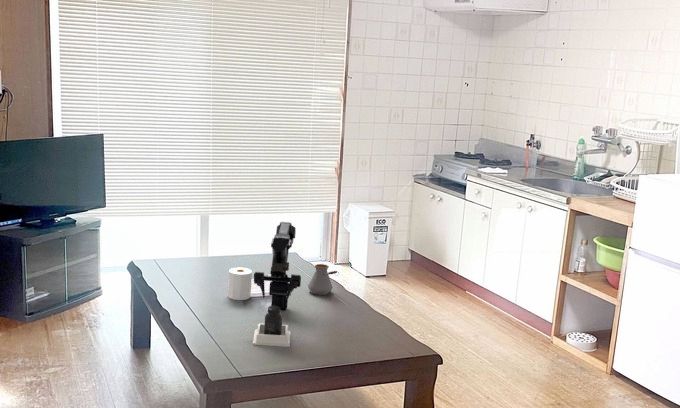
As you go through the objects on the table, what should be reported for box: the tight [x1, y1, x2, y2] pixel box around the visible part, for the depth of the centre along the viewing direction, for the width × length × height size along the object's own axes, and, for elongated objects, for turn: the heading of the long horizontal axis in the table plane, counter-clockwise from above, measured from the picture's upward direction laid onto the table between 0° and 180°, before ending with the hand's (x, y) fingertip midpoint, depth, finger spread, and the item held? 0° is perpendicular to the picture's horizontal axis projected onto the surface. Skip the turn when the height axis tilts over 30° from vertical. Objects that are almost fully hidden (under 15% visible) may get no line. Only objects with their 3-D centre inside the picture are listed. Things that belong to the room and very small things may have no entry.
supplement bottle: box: [263, 305, 283, 335], centre depth 282 cm, size 7×7×12 cm
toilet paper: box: [227, 267, 253, 301], centre depth 326 cm, size 10×10×12 cm
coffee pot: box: [307, 263, 340, 296], centre depth 336 cm, size 21×12×15 cm, turn 27°
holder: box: [252, 323, 291, 348], centre depth 283 cm, size 14×14×4 cm
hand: (275, 298), depth 289 cm, fingers open, 9 cm apart
